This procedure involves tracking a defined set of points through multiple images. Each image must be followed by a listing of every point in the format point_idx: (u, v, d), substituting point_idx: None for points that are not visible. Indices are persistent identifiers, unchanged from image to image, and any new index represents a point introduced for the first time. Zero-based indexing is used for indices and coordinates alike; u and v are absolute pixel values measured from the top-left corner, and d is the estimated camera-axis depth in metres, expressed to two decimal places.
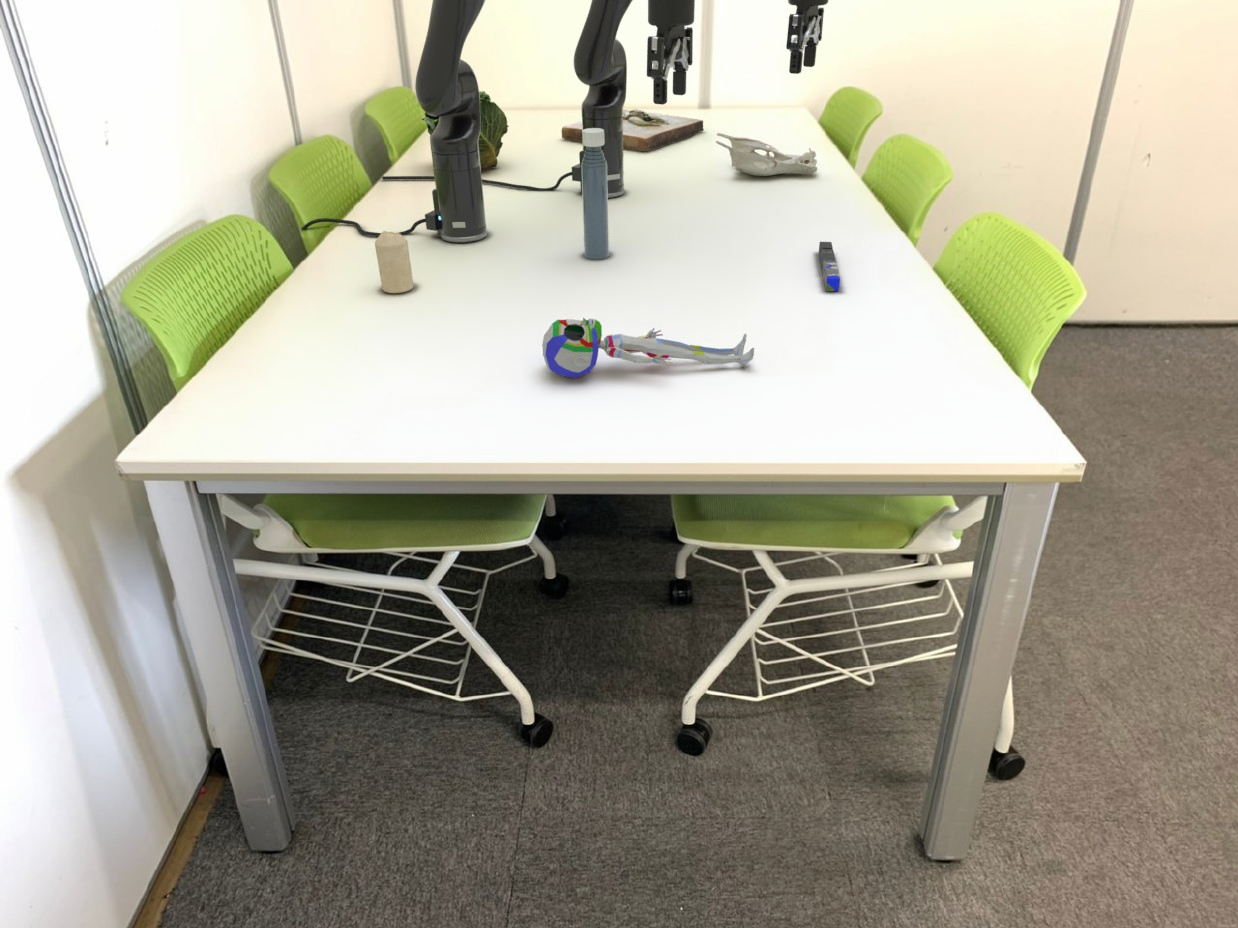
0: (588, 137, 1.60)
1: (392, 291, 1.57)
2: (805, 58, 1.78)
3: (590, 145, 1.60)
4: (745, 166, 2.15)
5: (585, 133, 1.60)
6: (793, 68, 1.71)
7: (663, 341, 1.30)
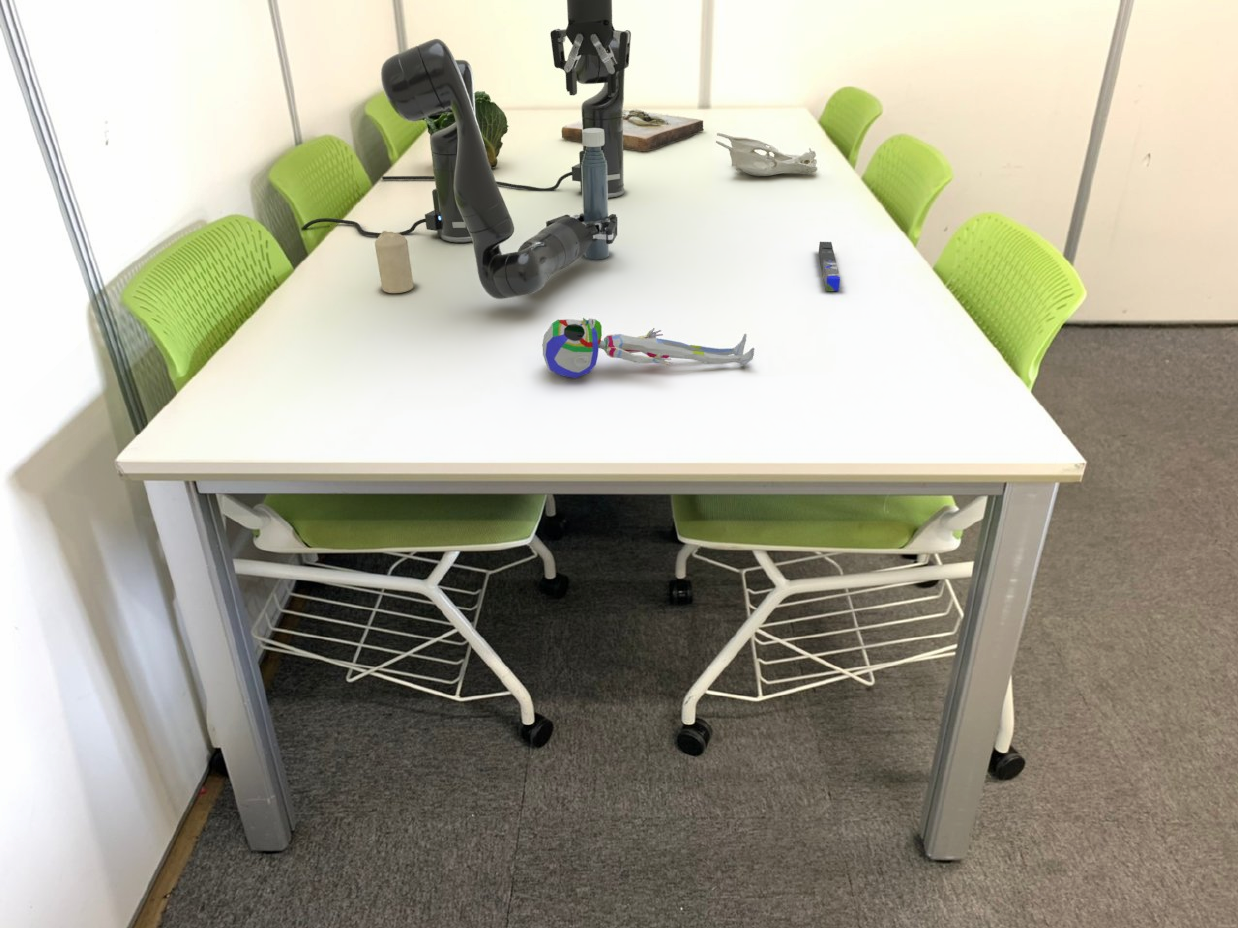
0: (588, 137, 1.60)
1: (392, 291, 1.57)
2: None
3: (590, 145, 1.60)
4: (745, 166, 2.15)
5: (585, 133, 1.60)
6: None
7: (663, 341, 1.30)
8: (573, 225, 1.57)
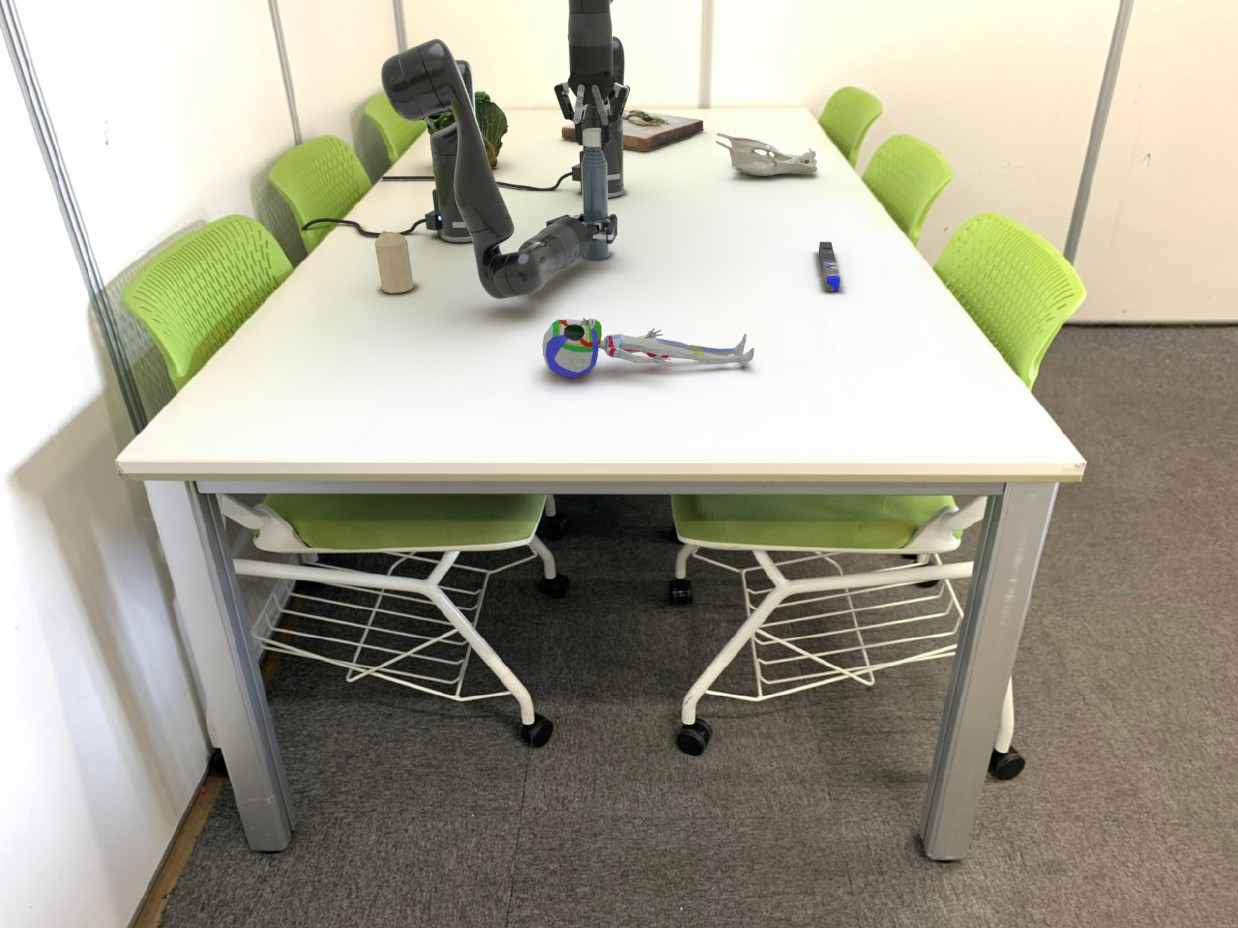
0: (588, 137, 1.60)
1: (392, 291, 1.57)
2: None
3: (590, 145, 1.60)
4: (745, 166, 2.15)
5: (585, 133, 1.60)
6: None
7: (663, 341, 1.30)
8: (573, 225, 1.57)
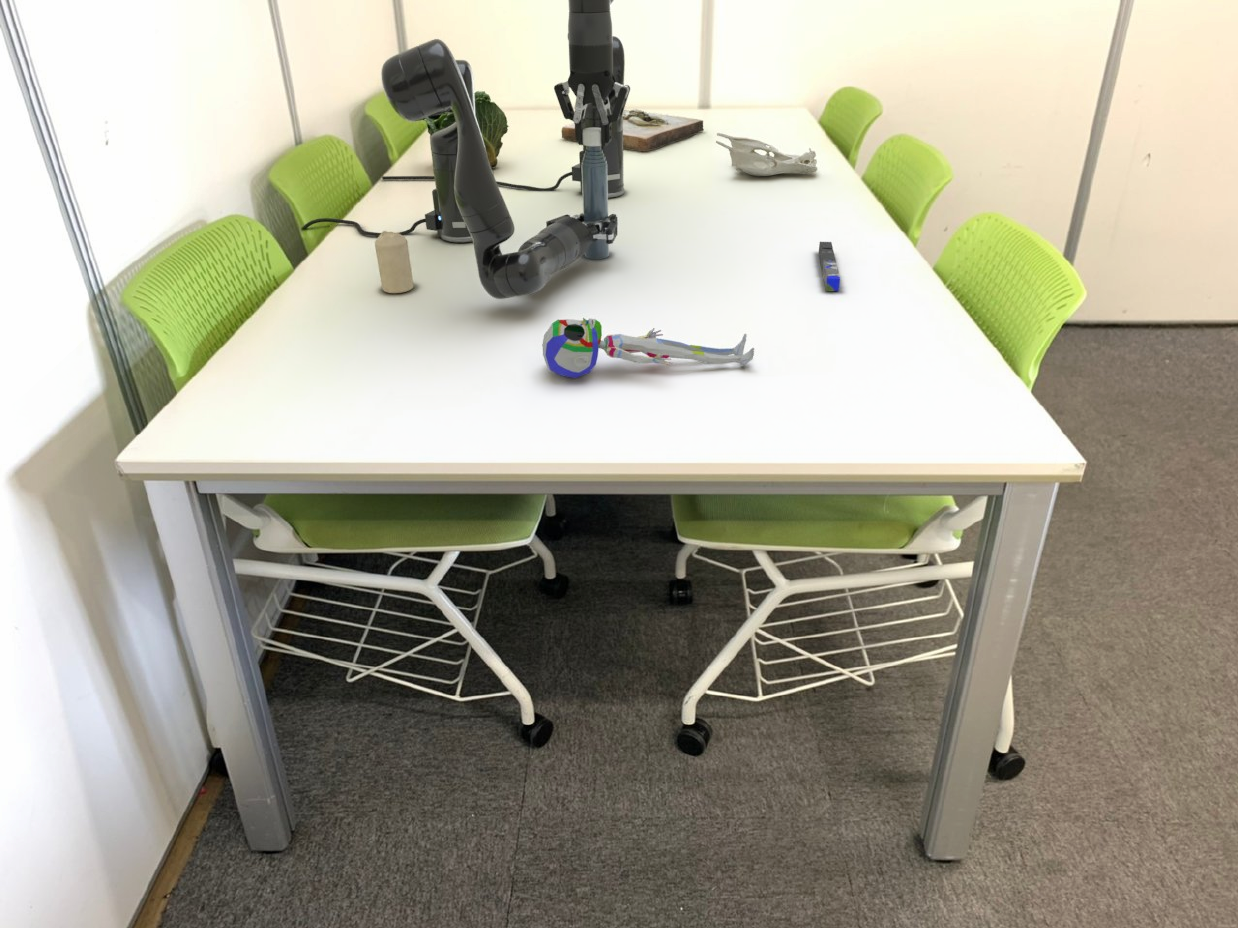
0: None
1: (392, 291, 1.57)
2: None
3: None
4: (745, 166, 2.15)
5: (600, 132, 1.60)
6: None
7: (663, 341, 1.30)
8: (573, 225, 1.58)
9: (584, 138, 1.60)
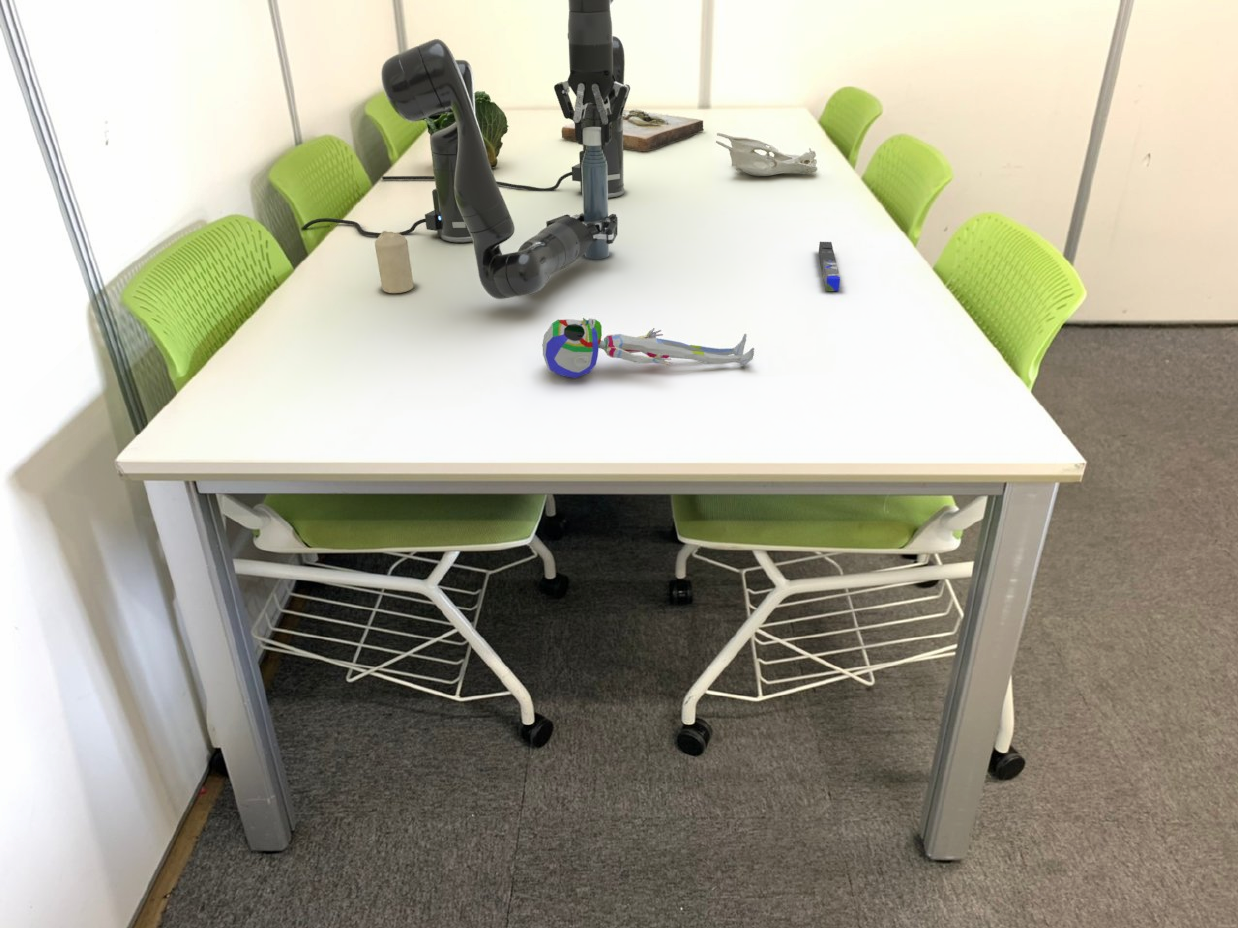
0: None
1: (392, 291, 1.57)
2: None
3: None
4: (745, 166, 2.15)
5: None
6: None
7: (663, 341, 1.30)
8: (573, 225, 1.58)
9: (598, 138, 1.60)
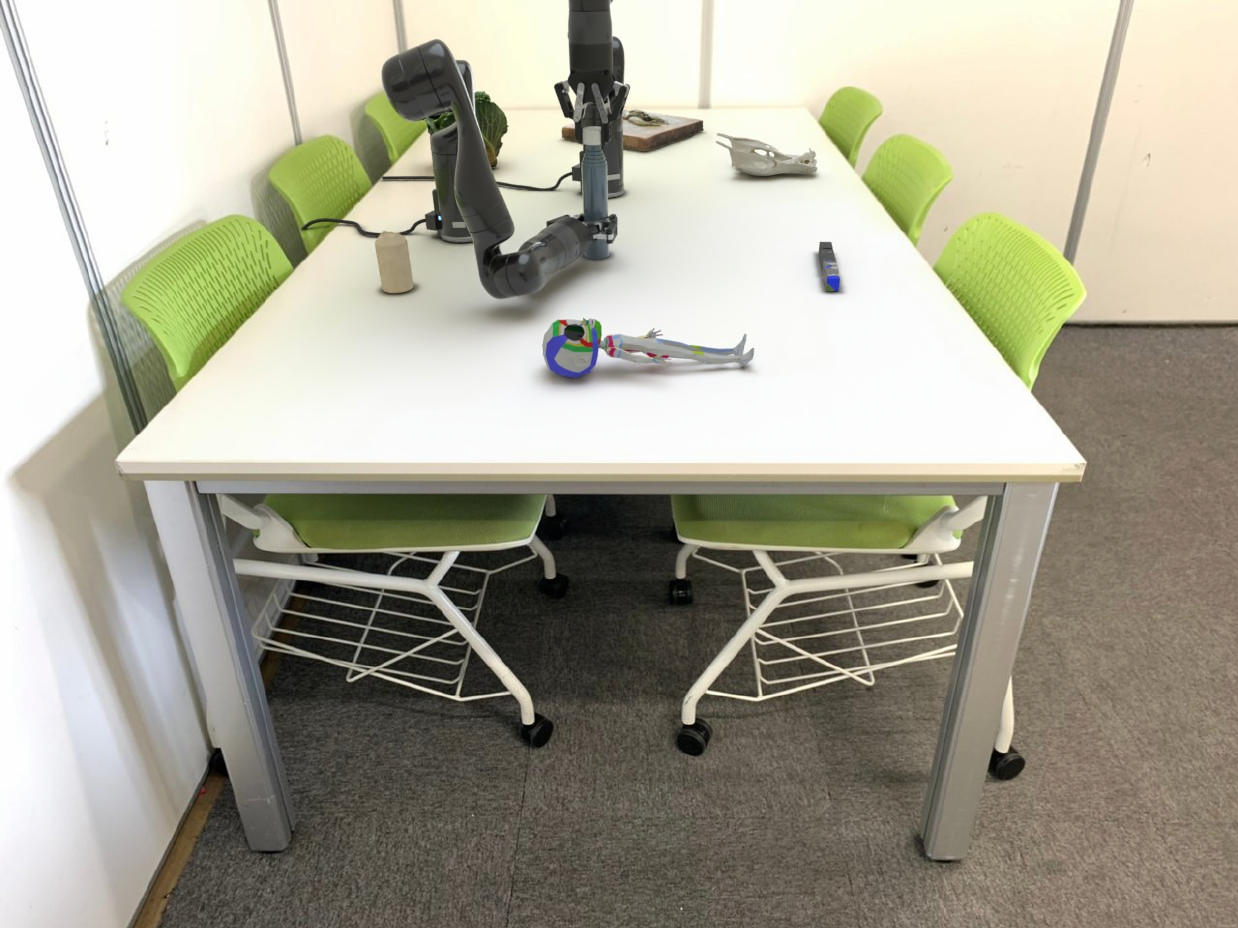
0: None
1: (392, 291, 1.57)
2: None
3: None
4: (745, 166, 2.15)
5: None
6: None
7: (663, 341, 1.30)
8: (573, 225, 1.58)
9: None
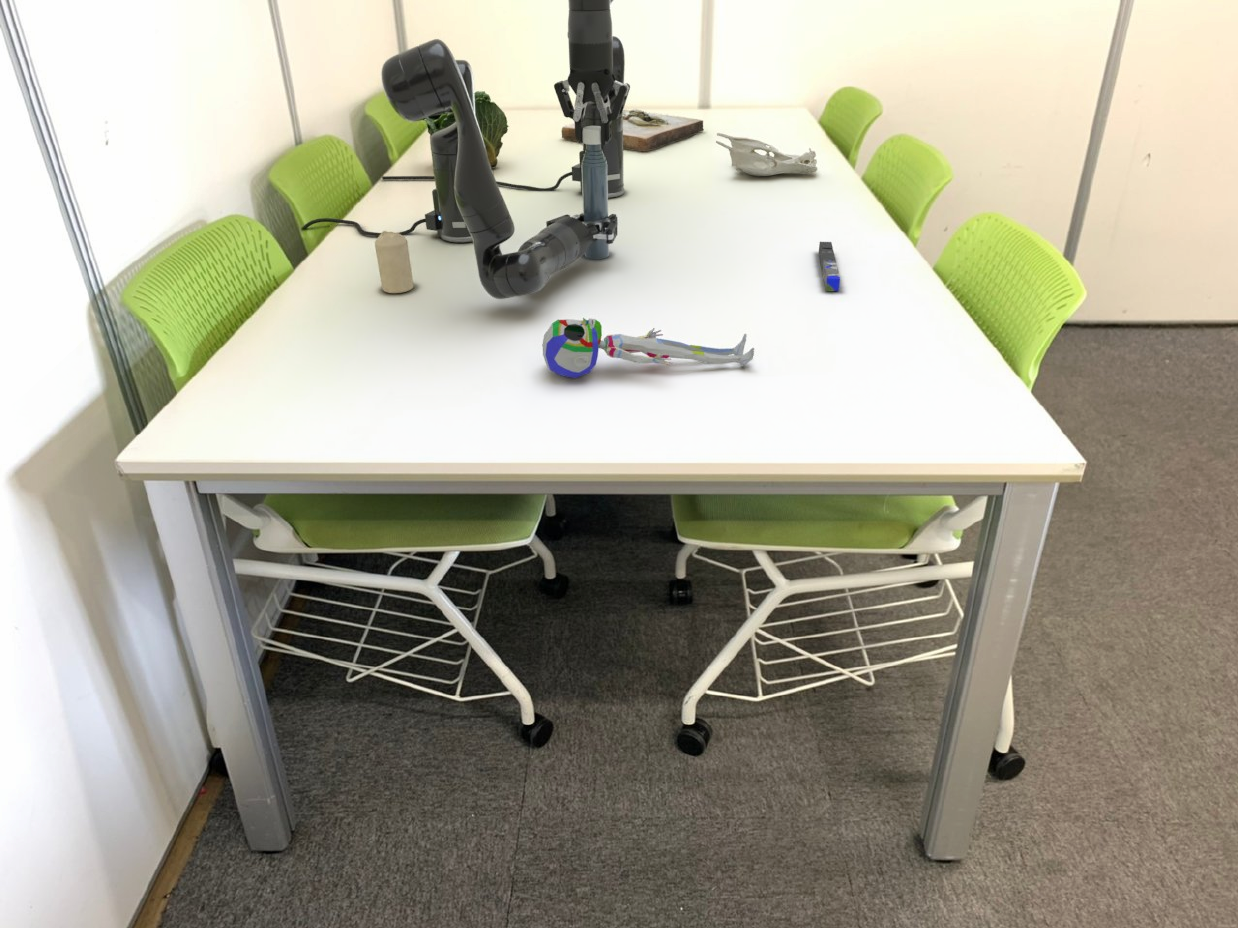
0: (588, 135, 1.59)
1: (392, 291, 1.57)
2: None
3: (590, 143, 1.60)
4: (745, 166, 2.15)
5: (585, 131, 1.59)
6: None
7: (663, 341, 1.30)
8: (573, 225, 1.58)
9: None
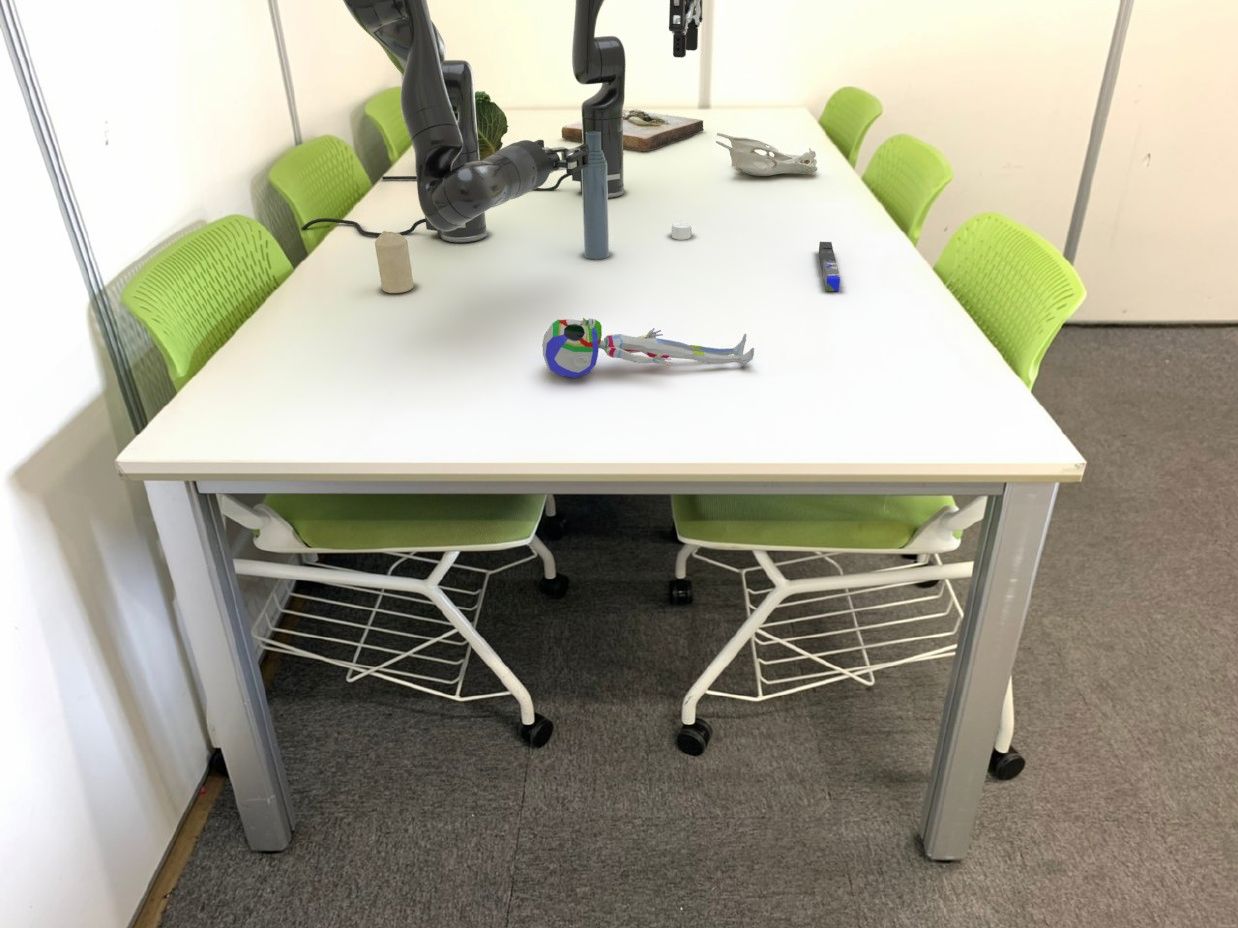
0: (690, 230, 1.80)
1: (392, 291, 1.57)
2: (687, 41, 1.66)
3: (690, 236, 1.81)
4: (745, 166, 2.15)
5: (688, 228, 1.79)
6: (677, 51, 1.59)
7: (663, 341, 1.30)
8: (530, 148, 1.39)
9: (673, 232, 1.80)
